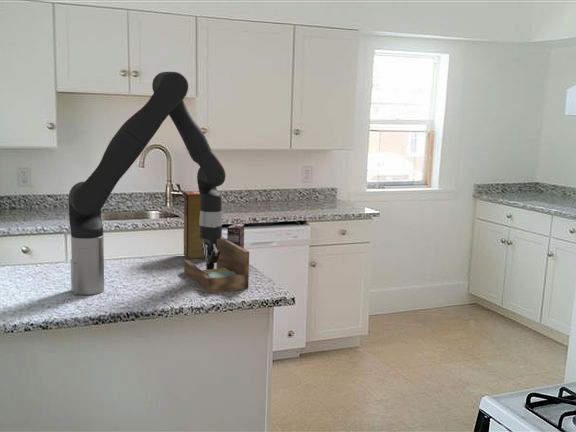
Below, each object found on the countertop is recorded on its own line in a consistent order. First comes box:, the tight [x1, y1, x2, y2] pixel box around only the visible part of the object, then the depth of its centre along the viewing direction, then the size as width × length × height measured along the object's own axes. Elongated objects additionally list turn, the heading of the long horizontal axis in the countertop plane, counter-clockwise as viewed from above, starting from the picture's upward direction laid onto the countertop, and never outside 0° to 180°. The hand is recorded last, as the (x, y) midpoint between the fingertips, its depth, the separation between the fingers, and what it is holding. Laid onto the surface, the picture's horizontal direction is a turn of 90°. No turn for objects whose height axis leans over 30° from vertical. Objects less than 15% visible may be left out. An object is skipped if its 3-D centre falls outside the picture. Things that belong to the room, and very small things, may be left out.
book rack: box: [183, 236, 250, 293], centre depth 194 cm, size 13×26×12 cm, turn 27°
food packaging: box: [183, 190, 222, 260], centre depth 226 cm, size 13×9×25 cm
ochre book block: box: [200, 268, 229, 274], centre depth 194 cm, size 9×6×4 cm, turn 121°
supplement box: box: [226, 223, 245, 249], centre depth 209 cm, size 9×5×16 cm, turn 174°
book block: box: [206, 271, 237, 277], centre depth 189 cm, size 9×6×4 cm, turn 112°
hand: (210, 273), depth 198 cm, fingers closed
